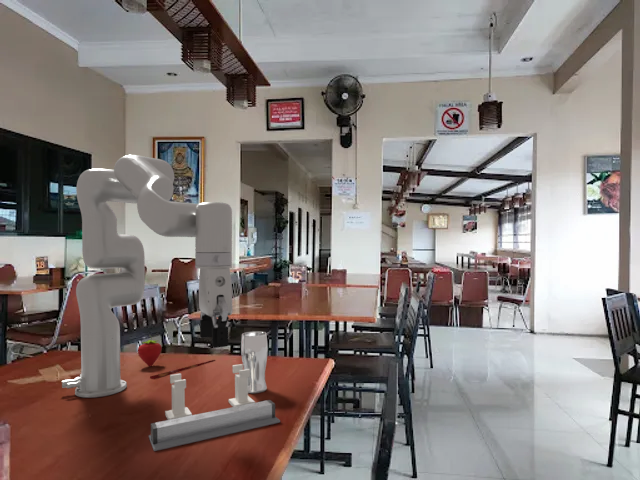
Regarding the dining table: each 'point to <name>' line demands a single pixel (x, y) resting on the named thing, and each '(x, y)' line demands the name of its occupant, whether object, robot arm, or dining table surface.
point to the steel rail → (211, 421)
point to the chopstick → (177, 370)
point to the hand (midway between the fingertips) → (213, 341)
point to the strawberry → (149, 351)
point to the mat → (213, 434)
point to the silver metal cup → (255, 359)
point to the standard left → (178, 398)
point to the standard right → (241, 387)
